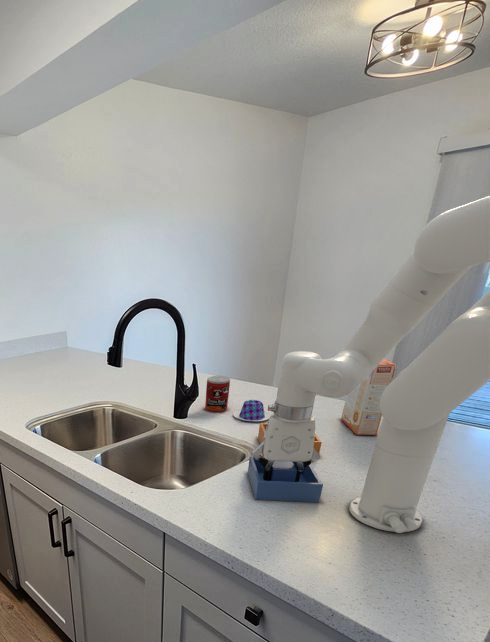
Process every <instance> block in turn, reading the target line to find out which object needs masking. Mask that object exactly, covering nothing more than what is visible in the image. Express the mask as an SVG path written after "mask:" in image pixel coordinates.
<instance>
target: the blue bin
mask: <svg viewBox="0 0 490 642" xmlns="http://www.w3.org/2000/svg"><path fill="white" fill-rule="evenodd" d="M263 457H264V456H263ZM264 458H265V457H264ZM293 464H294V465H295V462H293ZM263 474H264V467H263V466H262V465H261V464H260V462H259V461H258V460H256V459H255V458H254V457H252V456H249V459H248V467H247V475H248V479H249V482H250V485H251V489H252V493H253V495H254V499H255V500H259V501H261V500H262V501H280V502H281V501H282V502H299V503H301V502H302V503H320V500H321V495H322V491H323V486H324V484H323V482H322V480H321V479H320V477H319V475H318V473H317V472H316V470H315V469H314V466H313V465H312V463H311V464H310V465H309V466H307V467H306V468H304V470H303V471H301V474H300V479H299V482H284V481H265V480H263Z"/></svg>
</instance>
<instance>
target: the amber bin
mask: <svg viewBox="0 0 490 642" xmlns="http://www.w3.org/2000/svg"><path fill="white" fill-rule="evenodd" d="M266 426H267V423H266V422H265V423H263V422H261V423H259V428H258V433H257V434H258V435H257V439H258V442H259V445H260V444H261V443H262V442H263V438H264V434H265V430H266ZM321 447H322V441H321V439H320V438H319V436H318V435H317V433H315V438H314V448H315V450H316V451H317V453H318V454H319V455H320V452H321Z"/></svg>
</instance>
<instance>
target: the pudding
mask: <svg viewBox="0 0 490 642" xmlns="http://www.w3.org/2000/svg"><path fill="white" fill-rule="evenodd" d="M242 404H243V405H242V407H241V409H238V410H236V411H234V412H233V413H232V416H233V417H235V418H236V419H239V420H242V421H247V422H263V421H267V420H269V418H270V416H271V413H269V412H267V411H265V407H264V403H263V401H261V400H257V399H248V400H245V401H243V403H242Z"/></svg>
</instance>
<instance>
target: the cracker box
mask: <svg viewBox="0 0 490 642" xmlns="http://www.w3.org/2000/svg"><path fill="white" fill-rule="evenodd" d="M396 367H397V364H396V363H394V362H392V361H390V360H388V359H387V358H384V359H383V360H382V361H381V362H380V364H379V365H378V366H377V367H376V368H375V369H374V370H373V371H372V372H371V373H370V374H369V376H368V377H367V378H366V379H365V380H364V381H363V382H361V383H360V384H359V385H358V386H357V387H356V388H355V389H353V390H352V391H351V392H350V393H349V394H347V395H345V401H344V405H343V409H342V412H341V413H342V414H341V418H340V420H341V421H342V422H343V423H344V424H345V425H346V426H348V428H349V429H350V430H351V431H352V432H353V433H354V434H355V435H357V436H358V435H360V436H377V435H378V432H379V429H380V425H381V424H380V423H381V420H382V418H383V416H382V414H381V411H380V399H381V396H382V393H383V391H384V390H385V388H386V387H387V386H388V385H389V384H390V383H391V381H392V380H393V379H394V375H395V371H396Z"/></svg>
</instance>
